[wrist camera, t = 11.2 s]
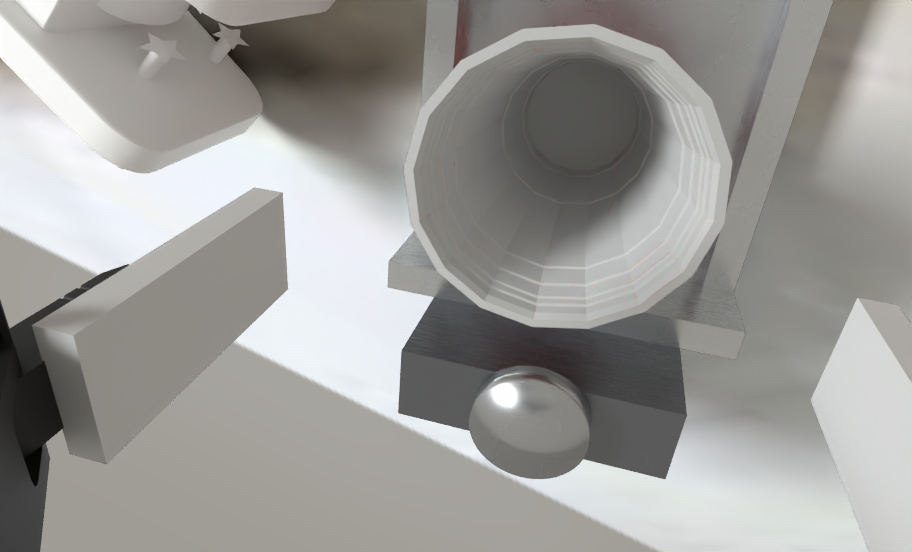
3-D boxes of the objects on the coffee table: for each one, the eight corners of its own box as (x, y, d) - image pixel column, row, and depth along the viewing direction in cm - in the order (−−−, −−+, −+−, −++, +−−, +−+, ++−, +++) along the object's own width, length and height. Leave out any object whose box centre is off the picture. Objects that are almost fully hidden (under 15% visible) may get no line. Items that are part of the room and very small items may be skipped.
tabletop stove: (445, -101, 29) (333, -136, 18) (842, -68, 26) (984, -88, 15) (418, 302, 39) (337, 429, 28) (699, 362, 36) (724, 529, 25)
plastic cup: (611, 258, 34) (597, 389, 23) (443, 150, 34) (355, 234, 23) (754, 83, 28) (819, 153, 18) (554, -48, 28) (504, -53, 18)
